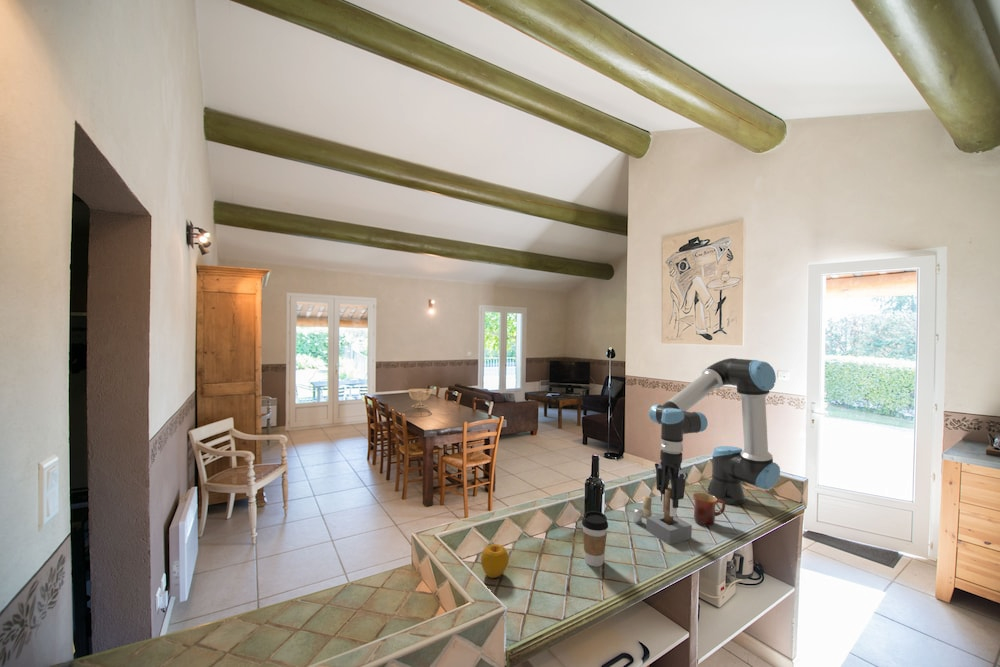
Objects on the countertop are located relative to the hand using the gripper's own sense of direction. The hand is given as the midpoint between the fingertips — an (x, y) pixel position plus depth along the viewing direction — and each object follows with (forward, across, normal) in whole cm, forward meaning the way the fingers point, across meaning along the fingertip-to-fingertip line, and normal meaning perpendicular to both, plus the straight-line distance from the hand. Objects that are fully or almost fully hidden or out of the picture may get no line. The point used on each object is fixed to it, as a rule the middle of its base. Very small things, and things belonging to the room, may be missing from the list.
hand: (668, 513), depth 155 cm
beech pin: (+8, -14, +3) cm, 16 cm away
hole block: (+8, 0, 0) cm, 8 cm away
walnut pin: (+5, 0, 0) cm, 5 cm away
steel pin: (+8, -12, -4) cm, 15 cm away
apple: (+9, -2, -70) cm, 71 cm away
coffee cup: (+8, +4, -37) cm, 38 cm away
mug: (+8, 0, +22) cm, 24 cm away
